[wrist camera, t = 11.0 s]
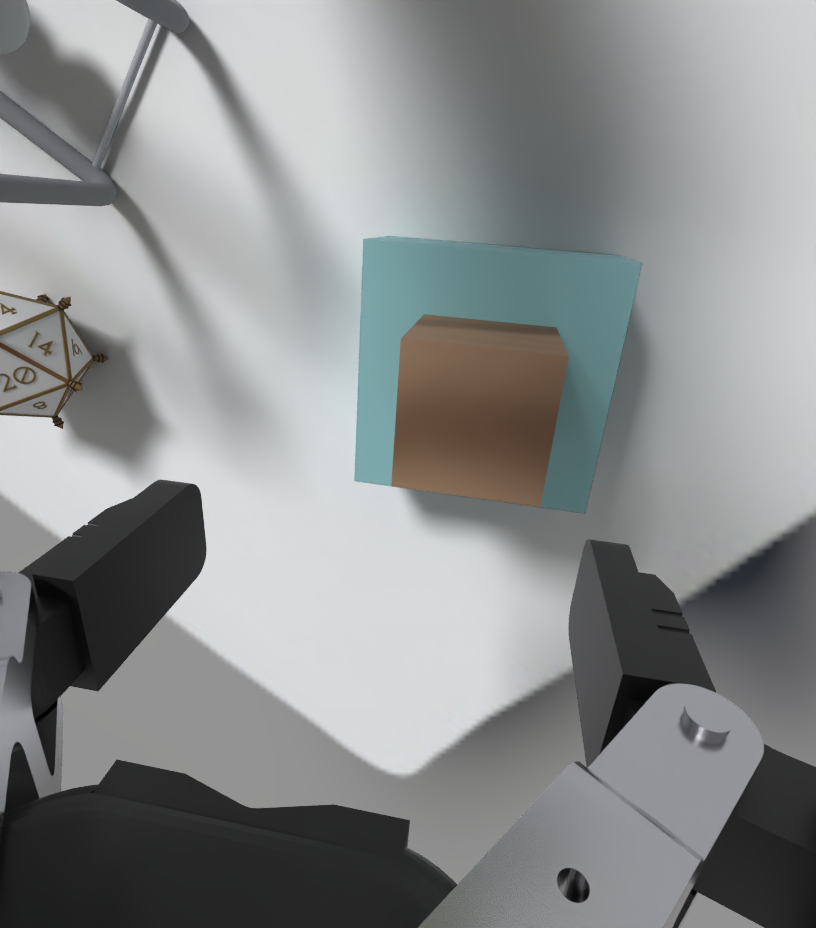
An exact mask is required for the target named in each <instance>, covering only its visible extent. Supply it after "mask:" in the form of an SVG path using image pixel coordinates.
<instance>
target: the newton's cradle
mask: <svg viewBox="0 0 816 928" xmlns="http://www.w3.org/2000/svg"><path fill="white" fill-rule="evenodd" d="M117 1H118V2H120V3H122V4H124V5H125V6H127V7H129V8H131V9H133V10H134V11H136V12H138V13H140V14H142V15H143V16H145V17H147V18H149V19H148V22H147V24H146V27H145V29H144V32H143V35H142V37H141V40H140V42H139V45H138V47H137V50H136V53H135V55H134V58H133V60H132V63H131V65H130V68H129V70H128V73H127V76H126V78H125V81H124V83H123V86H122V88H121V91H120V93H119V96H118V99H117V101H116V104H115V106H114V109H113V111H112V114H111V116H110V119H109V122H108V124H107V127H106V129H105V132H104V134H103V137H102V139H101V142H100V145H99V147H98V150H97V152H96V155H95V157H94V160H93V162H91V161H90V160H88V159H87V158H86V157H85V156H83V155H82V154H81V153H79V152H78V151H77V150H76V149H74V148H73V147H72V146H70V145H69V144H68V143H67V142H65V141H64V140H63V139H61V138H60V137H59V136H57V135H56V134H55V133H54V132H52V131H51V130H50V129H48V128H47V127H46V126H45V125H43V124H42V123H41V122H39V121H38V120H37V119H35V118H34V117H33V116H32V115H30V114H29V113H28V112H26V111H25V110H24V109H23V108H21V107H20V106H19V105H17V104H16V103H15V102H14V101H12V100H11V99H10V98H8V97H7V96H6V95H4V94H3V93H2V92H1V91H0V117H1V118H2V119H3V120H5V121H6V122H7V123H9V124H10V125H11V126H13V127H14V128H15V129H16V130H18V131H19V132H20V133H22V134H23V135H24V136H26V137H27V138H28V139H29V140H31V141H32V142H33V143H35V144H36V145H37V146H39V147H40V148H41V149H42V150H44V151H45V152H46V153H48V154H49V155H50V156H52V157H53V158H54V159H55V160H57V161H58V162H59V163H61V164H62V165H63V166H65V167H66V168H67V169H68V170H70V171H71V172H72V173H74V174H75V175H76V176H78V177H79V178H80V179H82V180H83V181H84V182H82V181H71V180H61V179H50V178H39V177H29V176H18V175H7V174H0V202H8V203H33V204H59V205H85V206H105V205H110V204H112V203H113V201H114V200H115V198H116V196H117V191H116V188H115V185H114V183H113V181H112V180H111V179H110V178H109V177H108V175H107V174H106V173H105V172H103V171H102V170H101V169H100V166H101V163H102V161H103V158H104V156H105V153H106V151H107V148H108V146H109V143H110V141H111V138H112V136H113V133H114V131H115V128H116V126H117V123H118V121H119V118H120V116H121V113H122V111H123V108H124V106H125V103H126V101H127V98H128V96H129V93H130V91H131V88H132V86H133V83H134V80H135V78H136V75H137V73H138V70H139V68H140V65H141V63H142V60H143V58H144V55H145V53H146V50H147V48H148V45H149V43H150V40H151V38H152V35H153V33H154V30H155V28H156V25H157V23H158V24H159V25H161V26H163V27H165V28H167V29H168V30H171V31H173V32H175V33H181V32H184V31H185V30H186V29H187V28H188V25H189V17H188V14H187V12H186V10H185V9H184V8H183V7H182V5H181V4H180V3H178V2H177V1H176V0H117ZM29 30H30V13H29V9H28V5H27V2H26V0H0V54H8V53H11V52H14V51H15V50H17V49H19V48H20V47H21V46H22V45H23V44H24V42H25V41H26V39H27V37H28V34H29Z"/></svg>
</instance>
